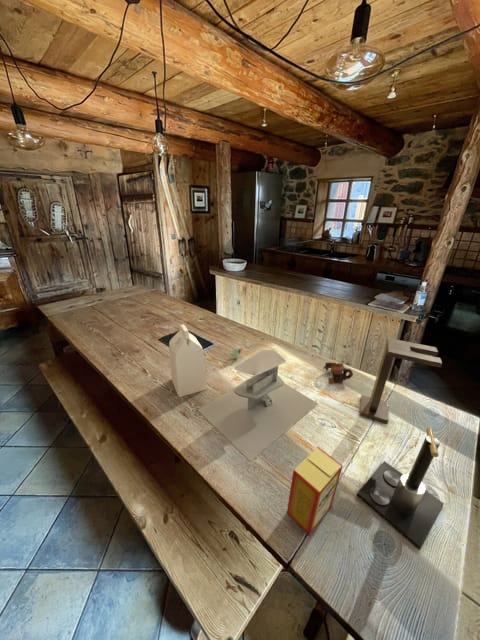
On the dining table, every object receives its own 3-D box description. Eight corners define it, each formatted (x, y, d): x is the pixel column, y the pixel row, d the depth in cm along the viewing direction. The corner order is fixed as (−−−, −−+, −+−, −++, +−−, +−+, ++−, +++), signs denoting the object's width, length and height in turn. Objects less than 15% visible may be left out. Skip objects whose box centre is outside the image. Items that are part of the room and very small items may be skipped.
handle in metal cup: (413, 495, 69) (444, 432, 59) (417, 523, 63) (451, 457, 53) (391, 487, 71) (417, 424, 61) (392, 512, 65) (421, 448, 55)
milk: (207, 389, 106) (204, 331, 95) (178, 397, 102) (172, 338, 90) (197, 372, 116) (194, 318, 105) (171, 379, 111) (165, 323, 100)
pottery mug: (321, 382, 112) (321, 363, 112) (326, 380, 120) (326, 362, 121) (351, 385, 106) (351, 364, 106) (355, 382, 114) (354, 363, 114)
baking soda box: (308, 535, 61) (319, 492, 54) (286, 512, 65) (293, 469, 59) (331, 506, 67) (342, 464, 60) (309, 487, 71) (318, 445, 64)
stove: (442, 505, 67) (444, 502, 67) (419, 549, 59) (421, 546, 58) (383, 463, 78) (384, 460, 77) (356, 495, 69) (357, 492, 69)
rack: (411, 412, 97) (436, 347, 85) (414, 432, 88) (442, 363, 77) (360, 397, 103) (377, 335, 91) (359, 415, 95) (377, 349, 83)
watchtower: (250, 461, 78) (252, 411, 69) (196, 409, 96) (193, 364, 88) (318, 403, 100) (326, 360, 91) (264, 370, 118) (266, 331, 110)
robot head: (236, 353, 130) (236, 341, 127) (243, 355, 129) (244, 343, 126) (228, 361, 124) (228, 349, 121) (236, 363, 122) (236, 351, 119)
